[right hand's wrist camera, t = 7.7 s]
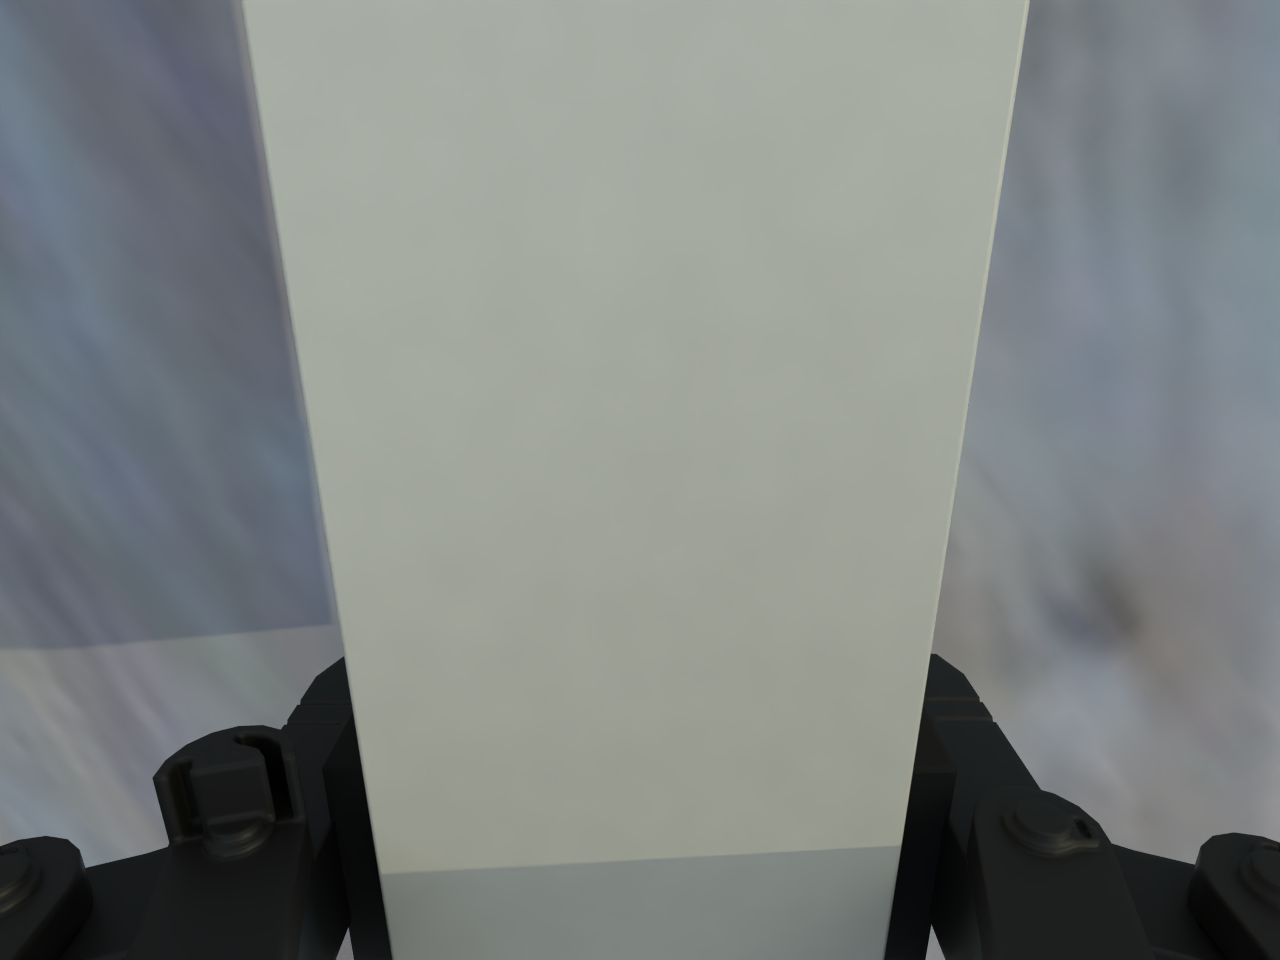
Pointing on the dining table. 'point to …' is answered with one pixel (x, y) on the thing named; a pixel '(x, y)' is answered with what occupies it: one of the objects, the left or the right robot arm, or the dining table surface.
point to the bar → (636, 442)
